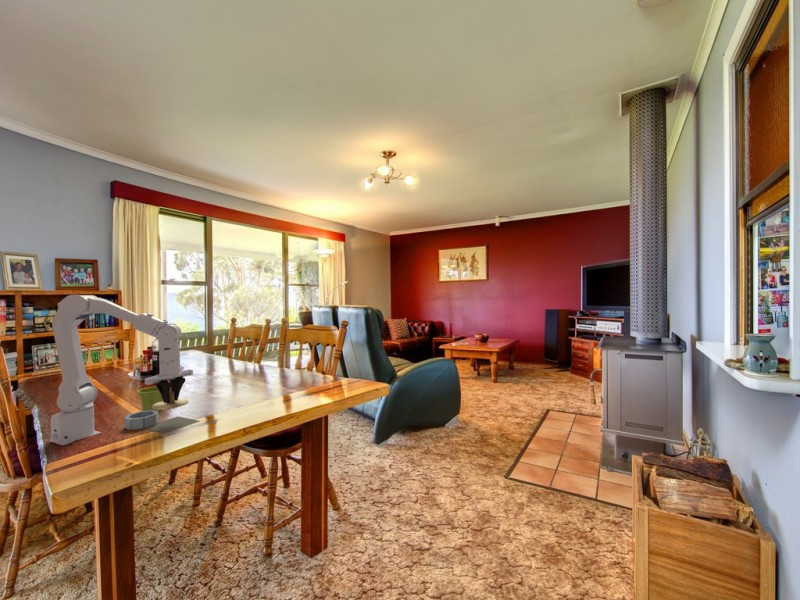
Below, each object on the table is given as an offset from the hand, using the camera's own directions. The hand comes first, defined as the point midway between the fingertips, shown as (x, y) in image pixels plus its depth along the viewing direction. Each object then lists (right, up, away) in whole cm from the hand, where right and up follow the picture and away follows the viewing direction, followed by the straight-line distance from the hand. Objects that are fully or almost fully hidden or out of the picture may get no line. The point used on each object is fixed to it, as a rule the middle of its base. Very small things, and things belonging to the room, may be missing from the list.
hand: (170, 401), depth 116 cm
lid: (0, -1, 0) cm, 1 cm away
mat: (0, -8, 0) cm, 8 cm away
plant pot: (-17, -9, +16) cm, 25 cm away
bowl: (-10, -9, 0) cm, 13 cm away
